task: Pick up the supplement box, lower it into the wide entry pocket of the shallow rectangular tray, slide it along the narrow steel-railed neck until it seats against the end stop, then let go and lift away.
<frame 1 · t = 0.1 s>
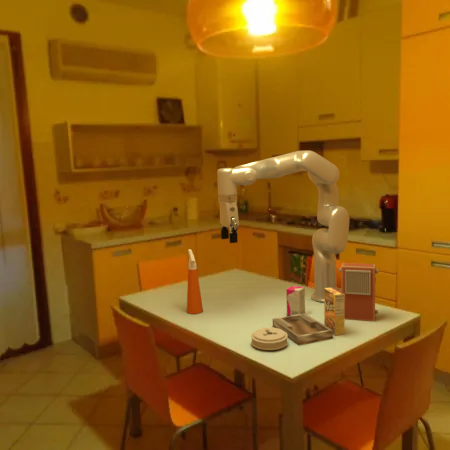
hand: (229, 240, 193), 31 cm above the table, tool pointing down, fingers open, 9 cm apart
shallow rectangular tray: (301, 332, 175), on the table
supplement box: (296, 315, 194), on the table
lid: (269, 345, 166), on the table
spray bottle: (194, 310, 205), on the table
candy box: (334, 331, 175), on the table
red speaker: (358, 318, 187), on the table
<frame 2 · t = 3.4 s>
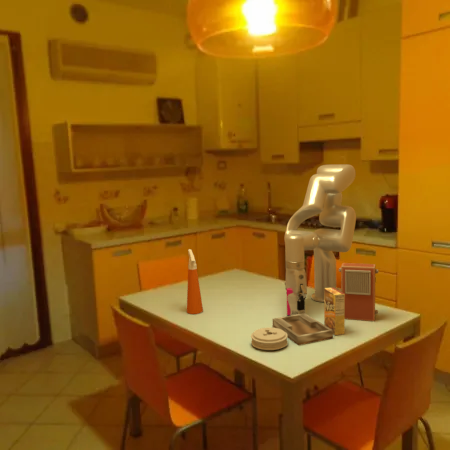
hand: (295, 306, 193), 4 cm above the table, tool pointing down, fingers closed on supplement box, 8 cm apart
supplement box: (296, 315, 194), on the table, touching gripper
everything else where it was.
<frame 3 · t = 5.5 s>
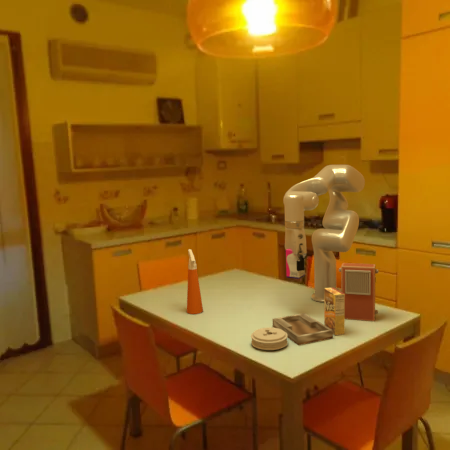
hand: (295, 267, 190), 20 cm above the table, tool pointing down, fingers closed on supplement box, 7 cm apart
supplement box: (295, 277, 191), point 16 cm above the table, touching gripper
everything else where it was.
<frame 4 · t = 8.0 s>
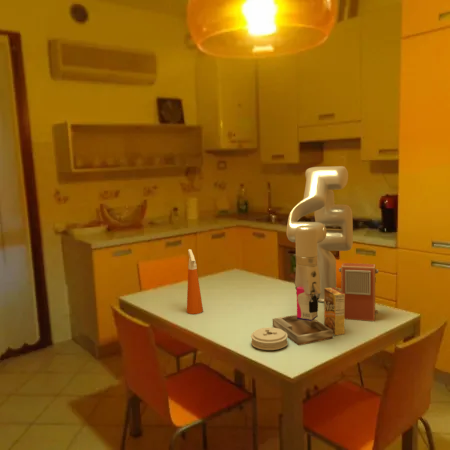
hand: (307, 308, 169), 11 cm above the table, tool pointing down, fingers closed on supplement box, 7 cm apart
supplement box: (307, 318, 170), point 7 cm above the table, touching gripper
everything else where it was.
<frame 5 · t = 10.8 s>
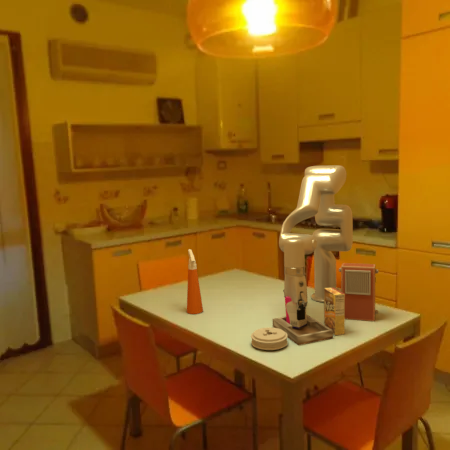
hand: (295, 315, 178), 5 cm above the table, tool pointing down, fingers closed on supplement box, 8 cm apart
supplement box: (297, 326, 179), point 1 cm above the table, touching gripper
everything else where it was.
when the fingers open (5 cm above the table, at t = 12.5 s): supplement box stays where it is, resting on shallow rectangular tray.
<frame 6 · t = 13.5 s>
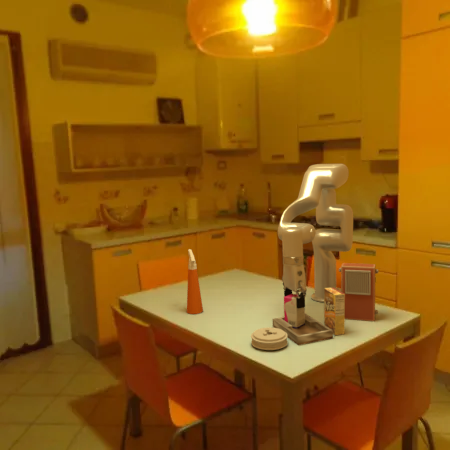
hand: (294, 303, 180), 9 cm above the table, tool pointing down, fingers open, 9 cm apart
supplement box: (294, 325, 180), point 1 cm above the table, touching shallow rectangular tray
everything else where it was.
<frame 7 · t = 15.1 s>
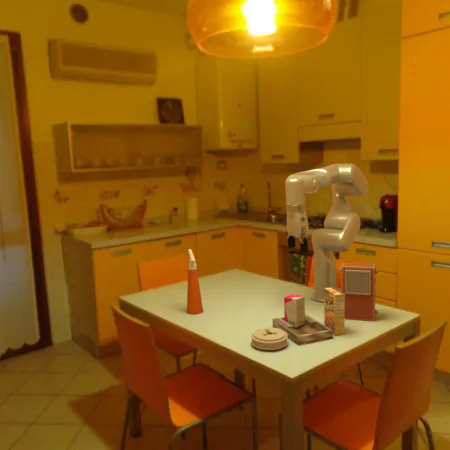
hand: (297, 250, 193), 26 cm above the table, tool pointing down, fingers open, 9 cm apart
nothing on the table moved.
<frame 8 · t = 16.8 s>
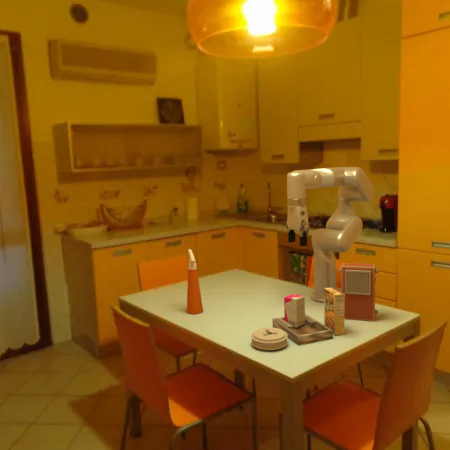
hand: (297, 243, 195), 28 cm above the table, tool pointing down, fingers open, 9 cm apart
nothing on the table moved.
at the end: supplement box 0.7 cm from the target spot on the shallow rectangular tray, point 0.6 cm above the shallow rectangular tray's base; supplement box tilted 0°; the gripper is holding nothing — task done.
